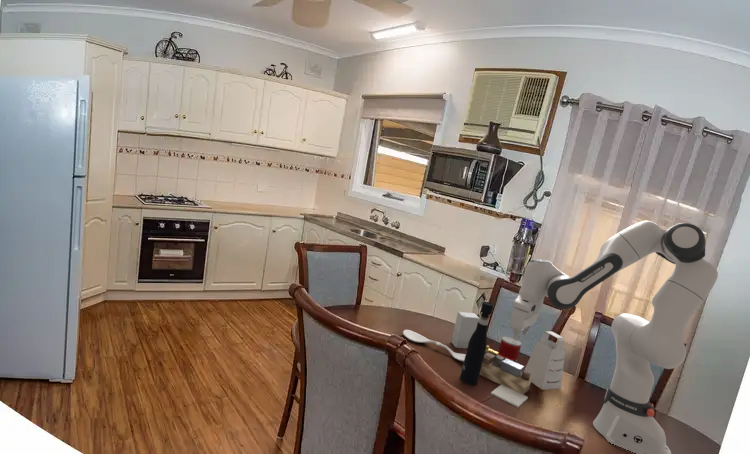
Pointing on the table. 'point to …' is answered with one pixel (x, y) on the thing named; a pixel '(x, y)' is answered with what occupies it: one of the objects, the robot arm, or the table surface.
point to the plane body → (504, 374)
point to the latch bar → (491, 351)
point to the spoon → (422, 339)
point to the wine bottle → (476, 348)
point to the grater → (547, 362)
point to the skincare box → (464, 329)
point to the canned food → (509, 348)
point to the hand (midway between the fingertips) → (520, 336)
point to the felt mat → (509, 395)
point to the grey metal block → (512, 367)
